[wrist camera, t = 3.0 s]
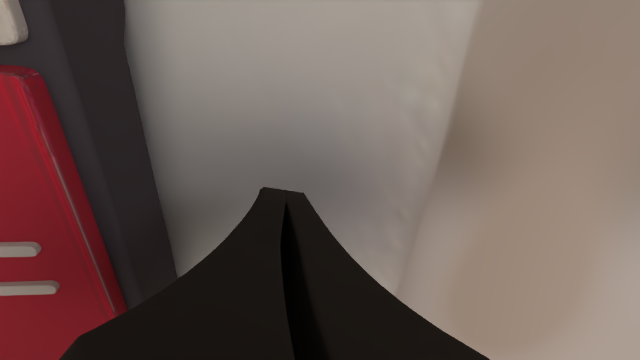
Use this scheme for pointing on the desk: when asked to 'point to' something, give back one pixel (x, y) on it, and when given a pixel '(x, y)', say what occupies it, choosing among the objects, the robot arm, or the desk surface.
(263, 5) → the desk surface
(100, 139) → the calculator
